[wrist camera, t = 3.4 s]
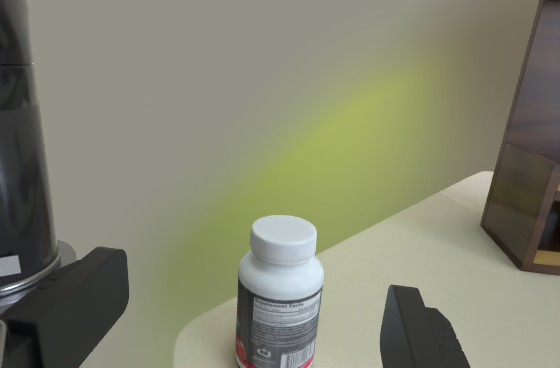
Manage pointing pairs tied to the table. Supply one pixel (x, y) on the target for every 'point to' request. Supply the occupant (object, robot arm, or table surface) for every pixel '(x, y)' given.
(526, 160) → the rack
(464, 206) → the table surface
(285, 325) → the pill bottle
